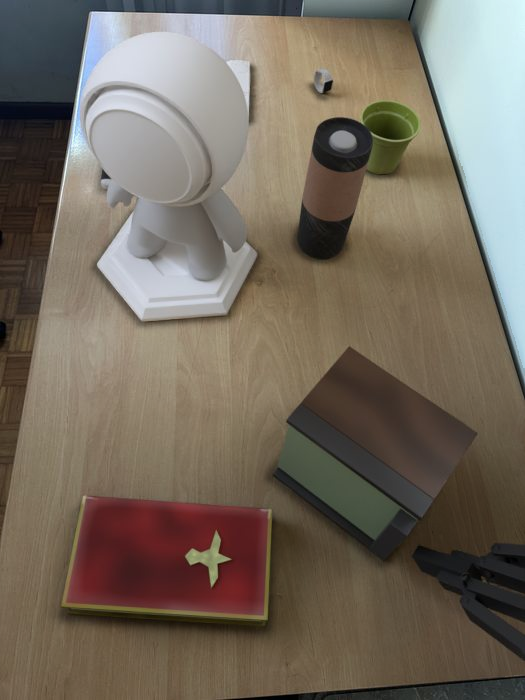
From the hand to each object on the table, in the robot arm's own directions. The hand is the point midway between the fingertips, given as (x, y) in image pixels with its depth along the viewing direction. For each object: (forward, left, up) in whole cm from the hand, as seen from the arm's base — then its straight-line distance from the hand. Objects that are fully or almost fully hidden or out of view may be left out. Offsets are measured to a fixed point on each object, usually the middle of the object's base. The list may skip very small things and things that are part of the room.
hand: (420, 558), depth 69 cm
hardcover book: (+26, +3, -8) cm, 27 cm away
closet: (+6, -10, -8) cm, 14 cm away
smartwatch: (+17, -82, -8) cm, 84 cm away
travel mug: (+14, -47, -8) cm, 50 cm away
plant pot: (+6, -66, -8) cm, 67 cm away
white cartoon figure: (+34, -39, -8) cm, 52 cm away
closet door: (+9, -6, -6) cm, 12 cm away
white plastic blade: (+32, -78, -8) cm, 85 cm away
